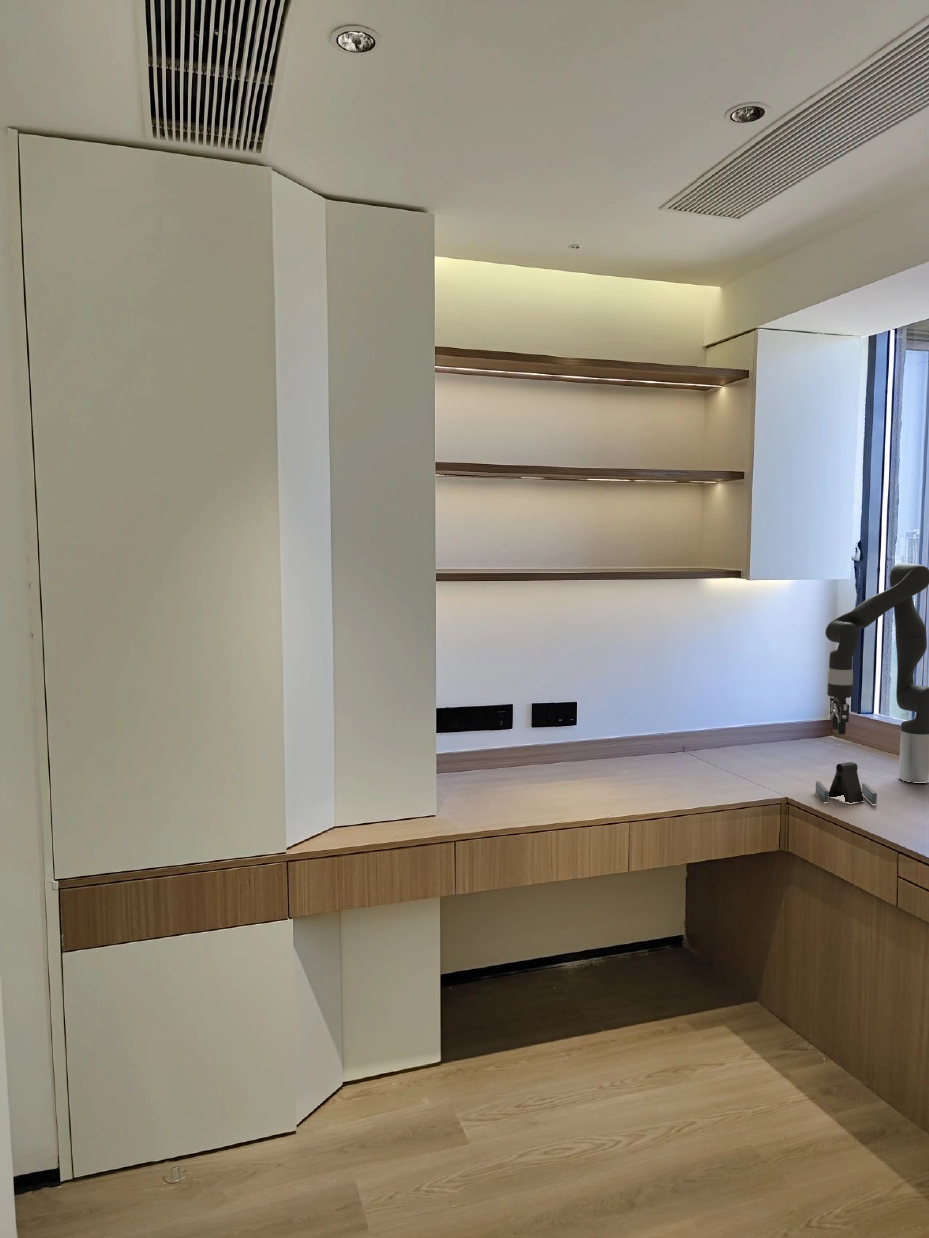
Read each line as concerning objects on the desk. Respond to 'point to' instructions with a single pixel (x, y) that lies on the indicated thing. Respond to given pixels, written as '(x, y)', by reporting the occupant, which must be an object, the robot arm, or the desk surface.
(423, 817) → the desk surface
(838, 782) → the dark a-frame stand
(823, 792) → the chute
